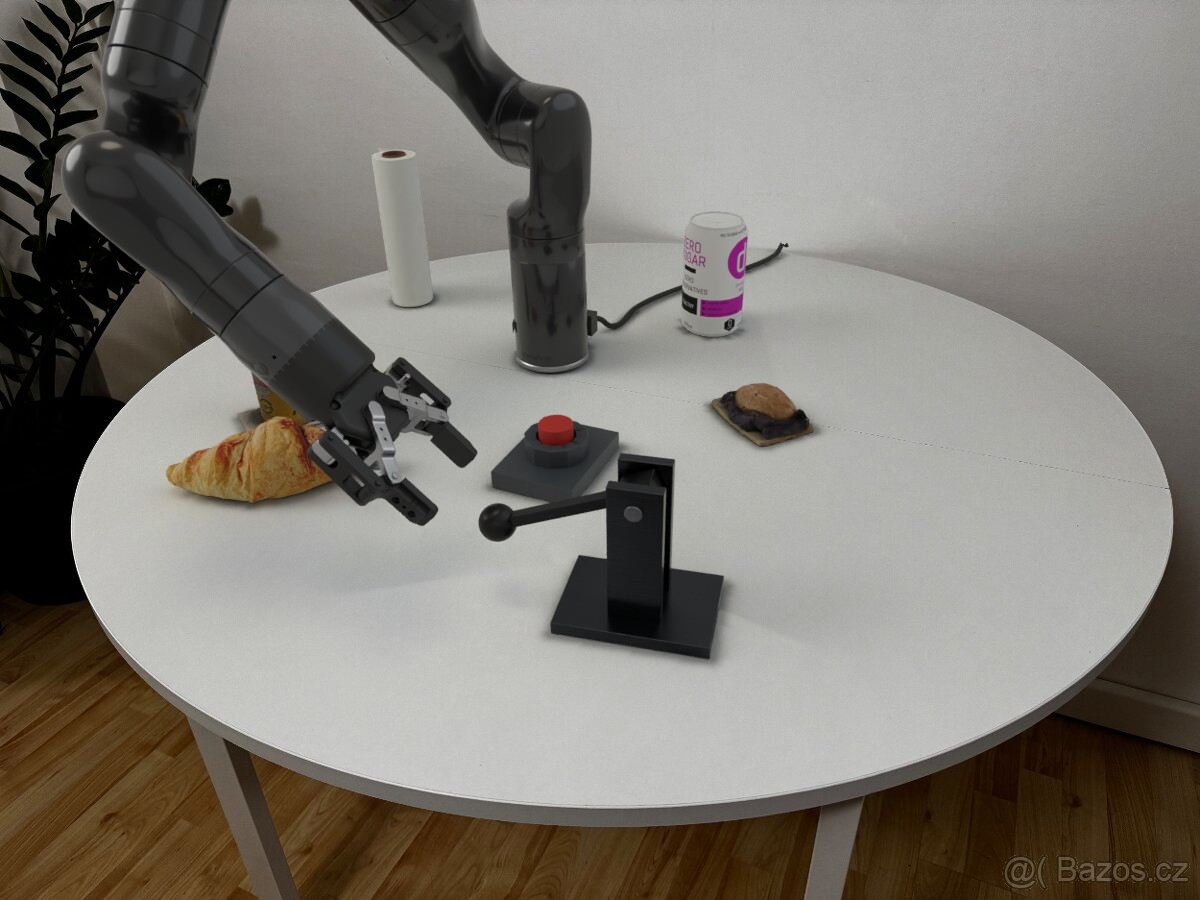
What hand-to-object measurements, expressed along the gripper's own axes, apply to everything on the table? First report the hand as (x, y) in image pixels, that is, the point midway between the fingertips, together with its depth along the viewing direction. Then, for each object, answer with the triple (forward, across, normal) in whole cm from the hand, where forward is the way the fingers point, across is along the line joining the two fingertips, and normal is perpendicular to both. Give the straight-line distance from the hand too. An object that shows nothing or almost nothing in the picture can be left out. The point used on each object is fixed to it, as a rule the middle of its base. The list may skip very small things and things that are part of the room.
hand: (451, 488), depth 73 cm
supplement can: (+17, +58, -3) cm, 61 cm away
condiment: (-15, +22, +29) cm, 40 cm away
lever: (+9, 0, -6) cm, 10 cm away
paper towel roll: (-15, +59, +29) cm, 67 cm away
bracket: (+18, 0, -4) cm, 19 cm away
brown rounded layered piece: (+23, +34, -9) cm, 43 cm away
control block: (+9, +20, +5) cm, 22 cm away
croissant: (-10, +11, +25) cm, 29 cm away
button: (+7, +20, +2) cm, 21 cm away
